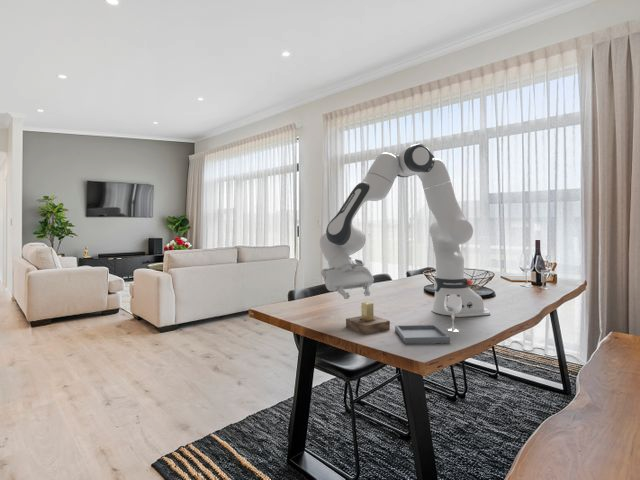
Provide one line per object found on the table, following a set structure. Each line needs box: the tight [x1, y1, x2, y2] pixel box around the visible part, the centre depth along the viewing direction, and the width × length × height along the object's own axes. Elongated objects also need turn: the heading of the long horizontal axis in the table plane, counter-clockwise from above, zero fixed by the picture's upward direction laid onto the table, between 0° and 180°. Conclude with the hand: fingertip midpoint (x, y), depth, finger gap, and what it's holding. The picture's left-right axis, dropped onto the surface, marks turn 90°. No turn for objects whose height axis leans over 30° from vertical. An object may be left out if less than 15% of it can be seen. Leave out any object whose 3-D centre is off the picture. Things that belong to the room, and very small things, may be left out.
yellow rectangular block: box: [360, 301, 375, 322], centre depth 134 cm, size 3×3×9 cm
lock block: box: [345, 315, 391, 335], centre depth 134 cm, size 11×11×3 cm
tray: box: [394, 324, 451, 345], centre depth 123 cm, size 14×14×2 cm
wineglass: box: [444, 294, 462, 333], centre depth 130 cm, size 6×6×12 cm
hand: (357, 296), depth 138 cm, fingers open, 8 cm apart
